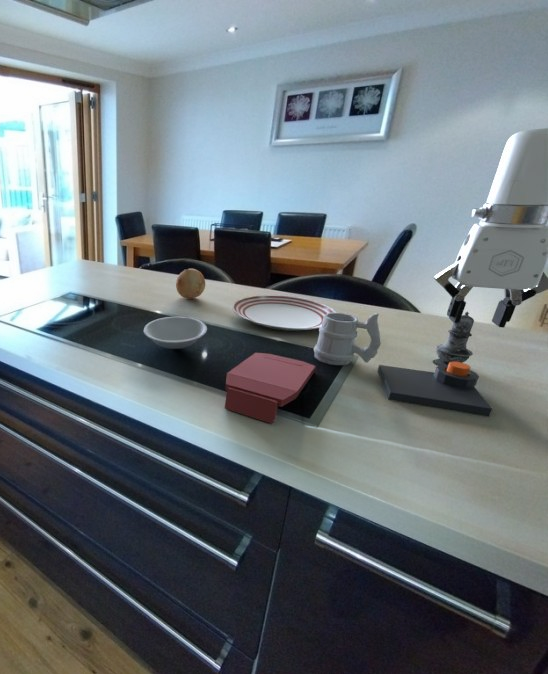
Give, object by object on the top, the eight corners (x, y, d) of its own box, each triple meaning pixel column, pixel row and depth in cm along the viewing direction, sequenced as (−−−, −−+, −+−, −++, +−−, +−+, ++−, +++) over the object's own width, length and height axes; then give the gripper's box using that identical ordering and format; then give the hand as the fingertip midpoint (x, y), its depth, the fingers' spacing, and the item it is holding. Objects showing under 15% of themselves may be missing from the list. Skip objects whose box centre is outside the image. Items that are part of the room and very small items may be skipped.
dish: (189, 368, 85) (190, 347, 83) (131, 354, 92) (131, 334, 90) (214, 340, 98) (216, 322, 96) (162, 330, 106) (163, 312, 104)
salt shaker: (434, 356, 86) (452, 305, 82) (469, 365, 82) (490, 311, 77) (427, 364, 83) (445, 311, 78) (463, 374, 79) (484, 318, 74)
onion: (193, 304, 126) (195, 273, 122) (169, 298, 133) (170, 269, 129) (210, 298, 132) (212, 268, 128) (186, 292, 139) (188, 264, 135)
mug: (318, 348, 92) (328, 300, 87) (377, 362, 84) (392, 310, 80) (307, 359, 87) (317, 308, 82) (370, 375, 79) (384, 320, 75)
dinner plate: (350, 341, 95) (353, 329, 94) (233, 333, 102) (234, 321, 101) (322, 307, 119) (324, 296, 118) (229, 302, 126) (230, 292, 125)
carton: (253, 371, 90) (213, 404, 70) (257, 351, 88) (217, 379, 69) (311, 386, 83) (285, 427, 63) (316, 364, 82) (291, 400, 62)
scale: (465, 384, 75) (471, 367, 74) (492, 418, 65) (500, 399, 63) (376, 370, 81) (380, 355, 80) (388, 400, 71) (393, 383, 69)
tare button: (464, 371, 73) (467, 363, 73) (470, 378, 71) (473, 369, 70) (444, 368, 74) (446, 360, 74) (449, 375, 72) (452, 367, 71)
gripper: (453, 217, 62) (420, 323, 69) (606, 219, 55) (553, 337, 62) (439, 213, 68) (410, 311, 75) (575, 214, 61) (530, 321, 68)
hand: (475, 321), depth 69 cm, fingers open, 5 cm apart
